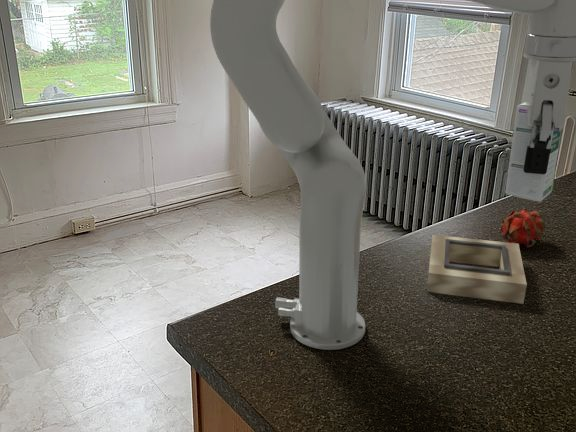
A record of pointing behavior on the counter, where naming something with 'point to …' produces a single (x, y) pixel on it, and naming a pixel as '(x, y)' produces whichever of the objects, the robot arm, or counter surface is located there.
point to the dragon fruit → (523, 227)
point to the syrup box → (517, 179)
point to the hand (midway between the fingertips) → (532, 164)
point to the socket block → (476, 269)
